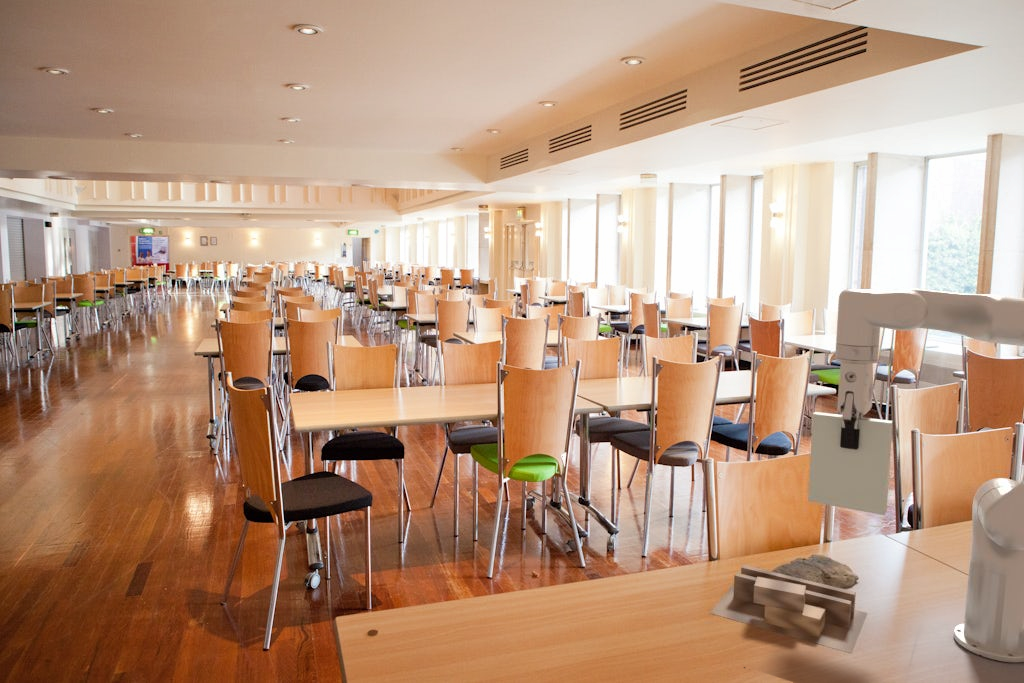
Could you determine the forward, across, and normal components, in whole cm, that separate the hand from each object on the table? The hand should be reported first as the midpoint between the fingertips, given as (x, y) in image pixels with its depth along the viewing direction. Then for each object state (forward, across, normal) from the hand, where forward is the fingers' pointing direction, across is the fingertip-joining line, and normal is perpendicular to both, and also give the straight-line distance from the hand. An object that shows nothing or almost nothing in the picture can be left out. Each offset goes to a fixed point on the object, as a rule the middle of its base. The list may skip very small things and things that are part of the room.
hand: (850, 445), depth 146 cm
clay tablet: (+36, +12, +9) cm, 38 cm away
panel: (+12, 0, 0) cm, 12 cm away
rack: (+35, -8, +8) cm, 37 cm away
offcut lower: (+34, -12, +6) cm, 36 cm away
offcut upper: (+30, -12, +9) cm, 34 cm away
